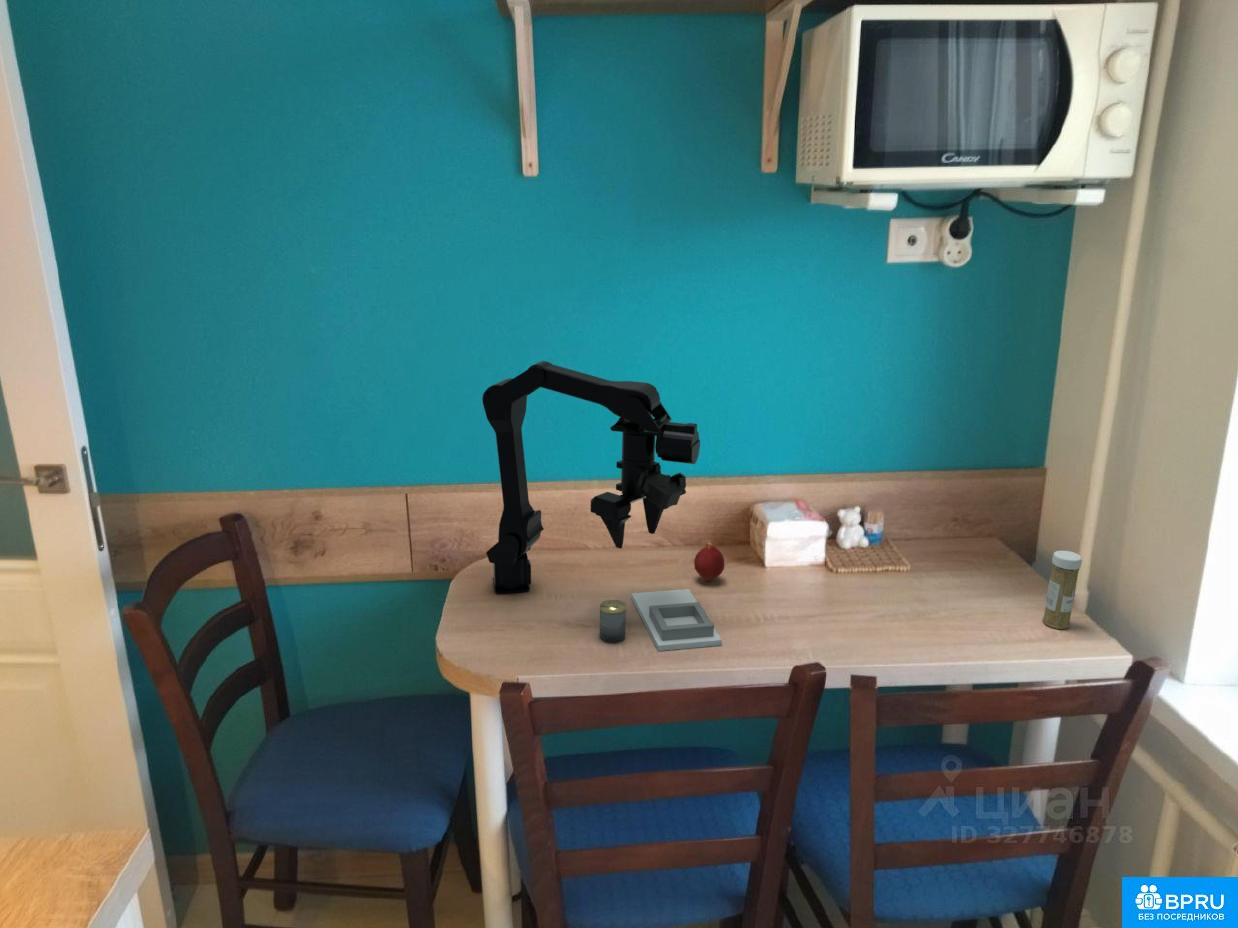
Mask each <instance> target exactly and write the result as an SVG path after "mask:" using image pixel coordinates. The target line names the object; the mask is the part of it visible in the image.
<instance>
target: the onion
mask: <svg viewBox="0 0 1238 928" xmlns="http://www.w3.org/2000/svg"><path fill="white" fill-rule="evenodd" d="M705 545H706V546H705V547H703V548H701V549H700V550H698V552H697V554H695V556H694V561H693V564H694V569H695V571H696V573H697V574H698V575H699V576H700V577H702V579H704V580H705V582H712V581H713V580H715V579H717V578H718V577H719V576H721V574H722V573H723V571H725V558H724V555H723V554H722V552H721V551H720V550H719V549H718V548H717V547H716V546H714V545H713V543H712V542H708V543H706V544H705Z"/></svg>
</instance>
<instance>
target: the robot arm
mask: <svg viewBox="0 0 1238 928" xmlns="http://www.w3.org/2000/svg"><path fill="white" fill-rule="evenodd" d="M540 388H543V389H546V390H550V391H553V392H556V393H560V394H563V395H567V396H570V397H573V398H576V399H581V400H584V401H586V402H590V403H593V404H598V405H600V406H602V407H604V408H605V409H607V410H608V411H610V413H612V414H614V415H616V416H618V417H619V418H618V419H617V421H616V422H615V423H614V424H613V425H611V426H610V431H613V432H620V433H622V435H621V437H622V438H621V460H618V461H616V469H617V468H618V469H621V470H620V471H621V472H620V473H621V475H620V482H619V483H616V484H615V490H616V491H619V492H621V494H616V493H613V492H609V491H606V492H602V493H600V494H598V495H595V496H594V497H593V498H592V499H590V508H589V509H590V513H593V514H595V516H597V517H598V516H599V517H600V519H601V520H602V523H604V525H605V527H606V529H607V531H608V533H609V536H610V537H611V540H612V541H613V544H614V545H615V547H616V548H617V549H622V548H623V546H624V540H625V539H624V538H625V537H624V536H625V528H626V527H625V526H626V522H627V521H629V519H630V518H631V517H632V515H631V514H630V512H631V510H632V504H633V503H635V502H638V501H640V500H642V505H643V509H644V515H645V522H646V526H647V531H648V533H649V534H651V535H655V533H656V530H657V527H658V525H659V523H660V520H661V518H662V515H663V512H664V510H667V509H669V508H670V507H673V506H676V505H678V503H679V500H680V498H681V497H682V496H683V495H686V493H687V490H686V487H687V479H686V477H687V476H685V475H684V474H683V473H682V472H678V473H675V474H673V475H670V474H663V473H662V471H661V465H660V462H658V461H655V459H656V457H655V456H656V454H657V458H660V459H661V460H662V461H664V462H673V463H680V464H689V465H696V463H697V461H698V458H699V455H700V454H699V453H700V448H701V439H700V434H699V430H698V424H697V423H694V422H693V423H692V422H685V423H683V422H674V421H672V417H671V415H670V414H669V412H668V411H667V409H666V408H665V407H664V405H663V403H662V402H661V396H660V392H659V391H658V390H657V387H656V386H654V384H652V383H650V382H642V381H633V380H619V381H618V380H617V381H616V380H609V379H606V378H602V377H598V376H595V375H591V374H588V373H584V372H580V371H577V370H573V369H570V368H567V367H563V366H559V365H557V364H553V363H551V362H549V361H546V360H541V361H539V362H536V363H534V364H532V365H530V366H529V367H528V368H527V370H524V371H523V372H522V373H519V374H518V375H517V376H514V377H513V378H512V377H511V378H505V379H504V380H501V381H499V382H496V383H494V384H492V385H490V386H489V387H487V388H486V389H485V391H484V392H483V393H482V397H481V398H482V399H481V400H482V401H481V402H482V405H483V410H484V413H485V416H486V419H487V422H488V423H489V425H490V426H491V428H492V429H493V431H494V433H495V440H496V450H497V451H496V452H497V458H498V466H499V477H500V478H499V479H500V486H501V487H500V488H501V494H502V503H503V506H502V507H503V508H502V511H501V516H500V521H499V523H498V535H497V537H498V538H497V542H496V543H495V544H494V545H493V546H492V547H491V548H489V549H488V550H487V551H486V553H485V554H486V556H487V559H488V561H489V563H490V564H492V565H493V567H492V569H493V577H492V585H493V589H494V593H495V594H497V595H499V594H511V593H523V592H524V593H525V592H530V589H531V588H530V585H531V584H532V564H531V561H530V559H529V558H528V554H527V552H528V551H531V550H532V546H533V545H534V544H536V542H538V541H539V539H540V537H541V533H542V532H543V530H545V529H544V526H543V524H542V511H541V510H540V509H538V510H534V508H533V506H532V505H531V503H530V500H529V490H528V481H527V480H528V479H527V471H526V461H525V451H524V441H523V432H522V430H523V428H522V427H523V424H524V419H525V417H526V413H527V402H528V400H527V399H528V396H529V395H531V394H532V393H535V391H538V390H539V389H540Z"/></svg>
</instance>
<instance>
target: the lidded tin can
mask: <svg viewBox="0 0 1238 928" xmlns="http://www.w3.org/2000/svg"><path fill="white" fill-rule="evenodd" d="M626 619H627V604H626V603H625V602H624V601H622V600H618V599H606V600H604V601H602V602H601V603H599V640H600V641H601V642H603V643H606V644H613V645H614V644H615V645H616V644H620V643H622V642H624V641H625V640H626V626H627V625H626V621H627V620H626Z"/></svg>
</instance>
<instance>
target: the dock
mask: <svg viewBox="0 0 1238 928" xmlns="http://www.w3.org/2000/svg"><path fill="white" fill-rule="evenodd" d="M631 600H632V603H634V606H635V607H636V610H637V612H638V615H640V618H641V620H642V621H643V625H644V626H645V628H646V630H647V632H648V634H649V636H650V638H651V639H652V641H653V644H654V645H655V647H656V650H657V651H658V652H663V651H674V650H684V649H694V648H695V649H696V648H705V647H717V646H722V645H723V643H722V642H723V641H722V638H721V637H720V635H719V633H718V632H717V630H716V629H715V625H714V624H713V622H712V620H711V619H710V617H709V616H708V614H707V612H706V610H705V609H704V608H703V607H702V605H701V604H700V602H699V601H697V599H696V598H695V597H694V595H693V593H692V591H691V590H690V589H689V588H685V589H671V590H659V591H657V590H656V591H646V592H645V591H643V592H634V593H633V592H632V593H631Z"/></svg>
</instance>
